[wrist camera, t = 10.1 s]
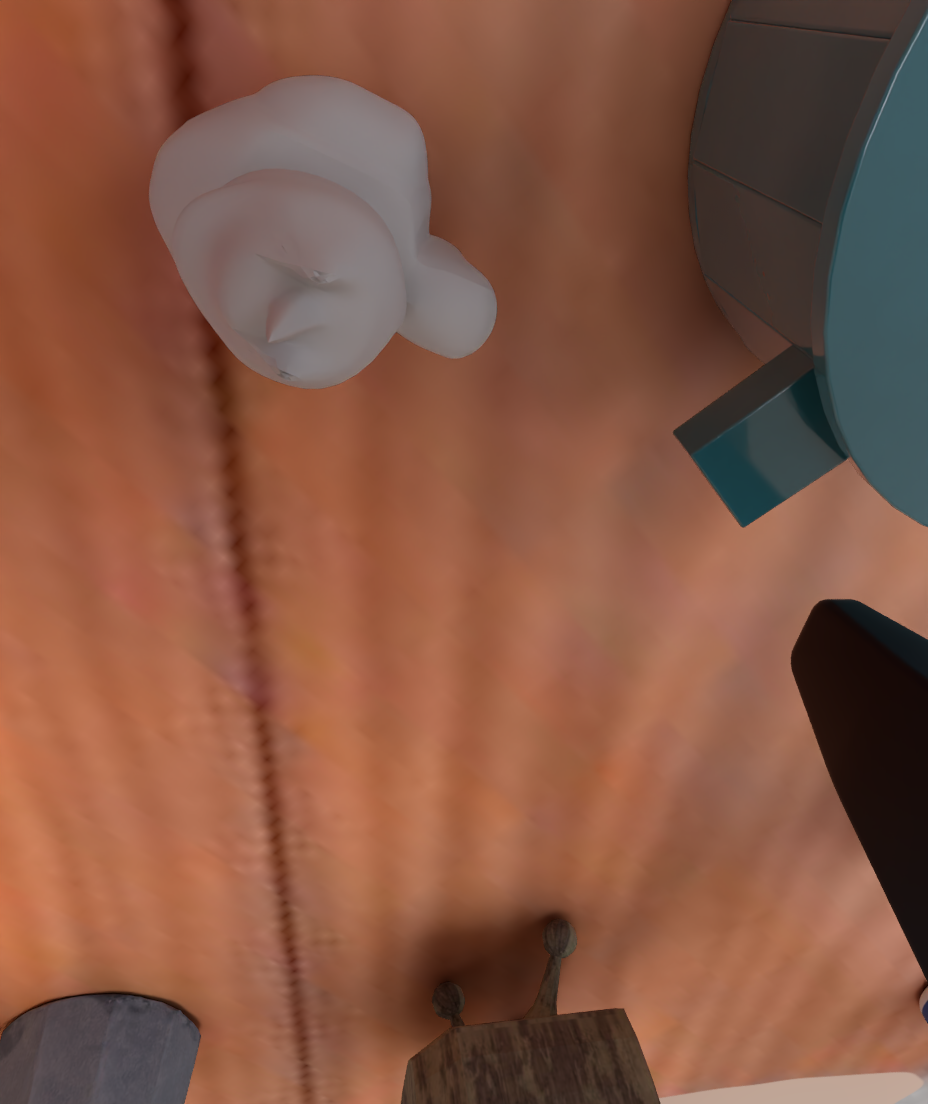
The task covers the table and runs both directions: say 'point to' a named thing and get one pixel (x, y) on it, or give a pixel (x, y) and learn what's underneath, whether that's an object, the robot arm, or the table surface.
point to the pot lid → (880, 279)
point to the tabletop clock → (532, 1051)
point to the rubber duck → (314, 232)
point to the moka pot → (98, 1053)
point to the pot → (773, 227)
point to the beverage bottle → (924, 1004)
